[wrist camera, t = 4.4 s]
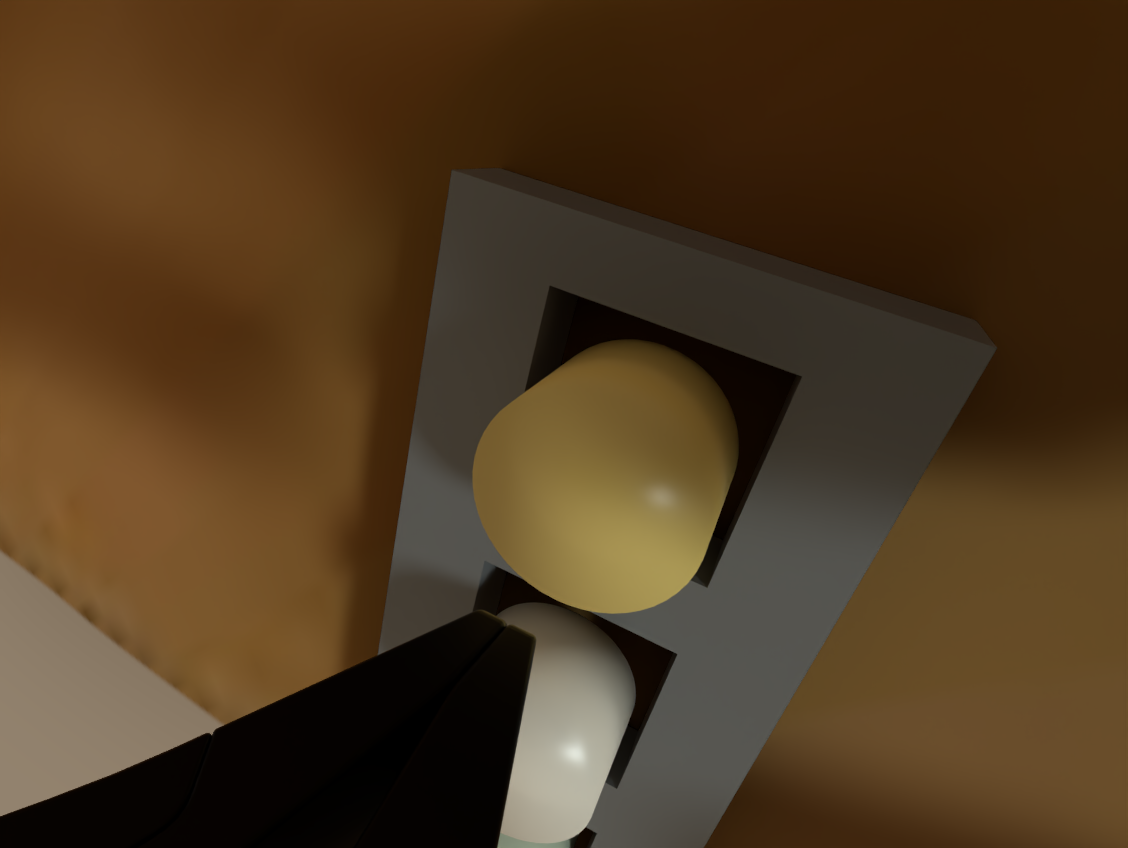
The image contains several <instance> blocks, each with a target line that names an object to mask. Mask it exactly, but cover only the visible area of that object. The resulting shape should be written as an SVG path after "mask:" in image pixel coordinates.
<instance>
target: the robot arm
mask: <svg viewBox="0 0 1128 848" xmlns="http://www.w3.org/2000/svg"><path fill="white" fill-rule="evenodd" d="M535 647H536V637H535V635H533V634H531V633H529V632H527V631H525V630H523V629H521V628H519V627H517V626H515V625H512V624H511V625H508V626H507V623H506V622H505V621H504V620H503V619H501V618H499V617H497V616H495V615H493V614H491V613H489V612H487V611H485V610H476V611H473V612H471V613H469V614H467V615H464V616H462V617H460V618H458V619H456V620H454V621H451V622H449V623H447V624H445V625H443V626H440V627H438V628H436V629H434V630H432V631H429V632H427V633H425V634H423V635H421V636H418V637H416V638H414V639H412V640H410V641H408V642H405V643H403V644H401V645H399V646H397V647H394V648H392V649H390V650H388V651H386V652H383V653H381V654H379V655H377V656H375V657H373V658H370V659H368V660H366V661H364V662H362V663H359V664H357V665H355V666H353V667H351V668H348V669H346V670H344V671H342V672H340V673H337V674H335V675H333V676H331V677H329V678H327V679H324V680H322V681H320V682H318V683H316V684H313V685H311V686H309V687H307V688H305V689H302V690H300V691H298V692H296V693H294V694H291V695H289V696H287V697H285V698H283V699H281V700H278V701H276V702H274V703H272V704H270V705H267V706H265V707H263V708H261V709H259V710H256V711H254V712H252V713H250V714H248V715H245V716H243V717H241V718H239V719H237V720H235V721H232V722H230V723H228V724H226V725H224V726H221V727H219V728H217V729H216V730H215V731H214V732H213V734H212V735H211V734H210V733H205V734H203V735H201V736H199V737H197V738H195V739H192V740H190V741H188V742H186V743H184V744H182V745H179V746H177V747H175V748H173V749H170V750H168V751H166V752H163V753H161V754H159V755H156V756H154V757H152V758H149V759H147V760H145V761H143V762H140V763H138V764H135V765H133V766H131V767H129V768H126V769H124V770H122V771H119V772H117V773H115V774H112V775H110V776H107V777H104V778H102V779H99V780H97V781H94V782H91V783H89V784H86V785H83V786H81V787H78V788H76V789H73V790H70V791H68V792H65V793H63V794H60V795H58V796H55V797H52V798H50V799H47V800H44V801H41V802H39V803H36V804H33V805H30V806H28V807H25V808H22V809H19V810H17V811H14V812H11V813H8V814H6V815H3V816H0V848H498V842H499V837H500V832H501V827H502V821H503V816H504V811H505V805H506V800H507V795H508V790H509V784H510V779H511V774H512V768H513V763H514V758H515V753H516V747H517V742H518V737H519V731H520V726H521V721H522V716H523V710H524V705H525V700H526V694H527V689H528V684H529V679H530V673H531V668H532V663H533V657H534V652H535Z"/></svg>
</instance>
